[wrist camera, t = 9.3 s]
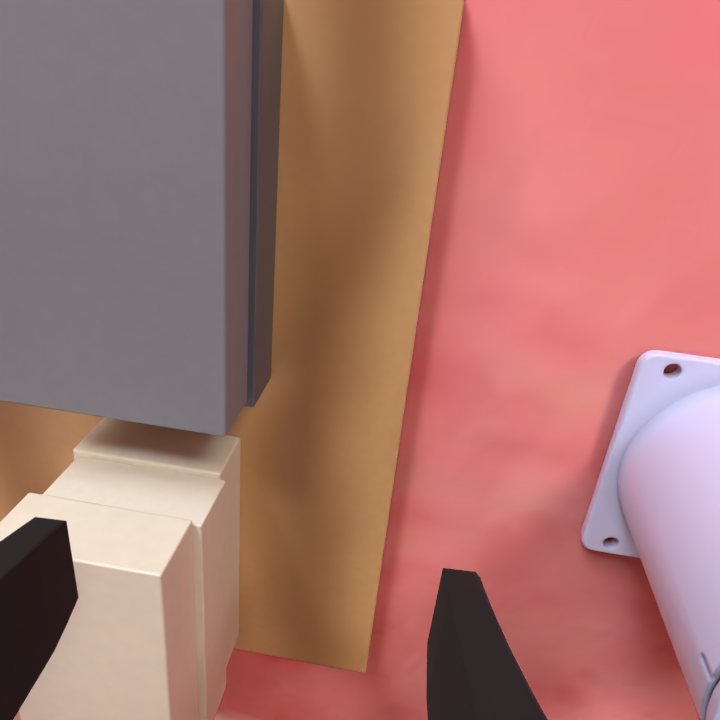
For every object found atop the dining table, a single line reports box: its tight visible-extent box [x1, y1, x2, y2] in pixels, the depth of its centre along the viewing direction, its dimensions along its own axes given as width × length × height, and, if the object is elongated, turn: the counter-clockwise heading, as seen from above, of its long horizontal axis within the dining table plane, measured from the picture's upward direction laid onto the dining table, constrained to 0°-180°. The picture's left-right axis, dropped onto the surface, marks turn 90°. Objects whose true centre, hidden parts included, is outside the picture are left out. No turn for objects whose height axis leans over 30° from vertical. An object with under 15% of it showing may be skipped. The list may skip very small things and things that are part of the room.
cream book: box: [0, 493, 199, 720], centre depth 19 cm, size 5×10×2 cm, turn 175°
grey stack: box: [0, 0, 284, 436], centre depth 17 cm, size 7×11×4 cm, turn 175°
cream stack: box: [42, 417, 241, 720], centre depth 22 cm, size 5×10×4 cm, turn 175°
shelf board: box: [0, 0, 465, 673], centre depth 22 cm, size 16×25×1 cm, turn 175°
